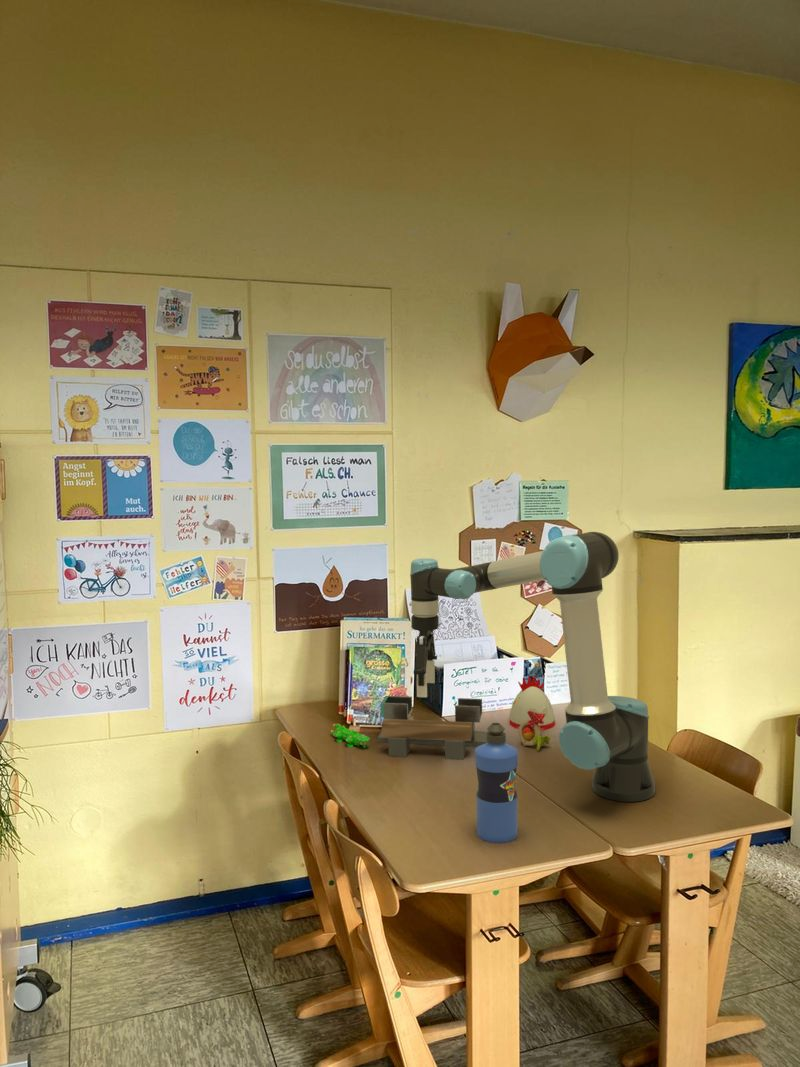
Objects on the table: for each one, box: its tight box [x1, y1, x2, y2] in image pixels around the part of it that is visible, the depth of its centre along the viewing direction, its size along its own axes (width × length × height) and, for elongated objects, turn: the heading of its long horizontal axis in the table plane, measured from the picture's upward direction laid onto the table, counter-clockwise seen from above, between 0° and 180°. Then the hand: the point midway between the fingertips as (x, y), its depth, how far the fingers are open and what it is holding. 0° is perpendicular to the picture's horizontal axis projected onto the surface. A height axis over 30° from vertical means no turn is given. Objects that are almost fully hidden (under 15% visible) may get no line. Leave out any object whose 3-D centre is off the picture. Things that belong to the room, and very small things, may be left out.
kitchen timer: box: [508, 675, 556, 732], centre depth 257 cm, size 14×14×15 cm
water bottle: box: [474, 722, 519, 844], centre depth 183 cm, size 9×9×25 cm
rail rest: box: [387, 738, 467, 761], centre depth 234 cm, size 6×21×5 cm, turn 79°
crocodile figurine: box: [330, 723, 371, 749], centre depth 245 cm, size 7×18×4 cm, turn 38°
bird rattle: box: [518, 711, 551, 752], centre depth 237 cm, size 6×11×9 cm
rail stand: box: [376, 695, 489, 748], centre depth 245 cm, size 9×32×12 cm, turn 79°
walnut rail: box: [381, 718, 472, 741], centre depth 233 cm, size 4×25×4 cm, turn 79°
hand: (426, 689), depth 232 cm, fingers open, 13 cm apart
